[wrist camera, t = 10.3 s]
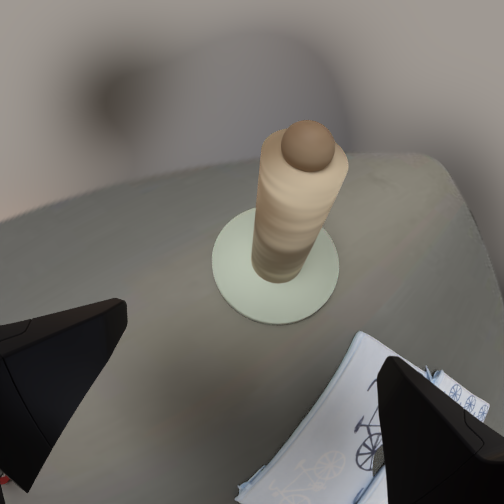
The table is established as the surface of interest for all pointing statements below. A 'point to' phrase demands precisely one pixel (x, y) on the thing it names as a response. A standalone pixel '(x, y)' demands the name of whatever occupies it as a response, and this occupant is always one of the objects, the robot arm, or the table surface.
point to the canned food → (4, 479)
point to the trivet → (266, 293)
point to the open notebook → (342, 437)
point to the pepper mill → (294, 197)
